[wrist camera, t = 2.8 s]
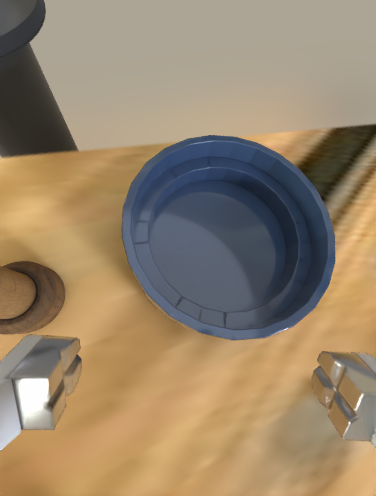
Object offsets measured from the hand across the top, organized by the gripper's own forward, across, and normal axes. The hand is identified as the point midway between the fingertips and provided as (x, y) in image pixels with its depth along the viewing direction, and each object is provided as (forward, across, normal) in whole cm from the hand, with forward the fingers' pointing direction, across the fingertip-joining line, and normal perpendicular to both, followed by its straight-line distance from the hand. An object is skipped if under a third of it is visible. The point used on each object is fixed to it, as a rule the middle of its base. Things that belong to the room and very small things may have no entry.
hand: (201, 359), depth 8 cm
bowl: (+19, -4, +1) cm, 20 cm away
